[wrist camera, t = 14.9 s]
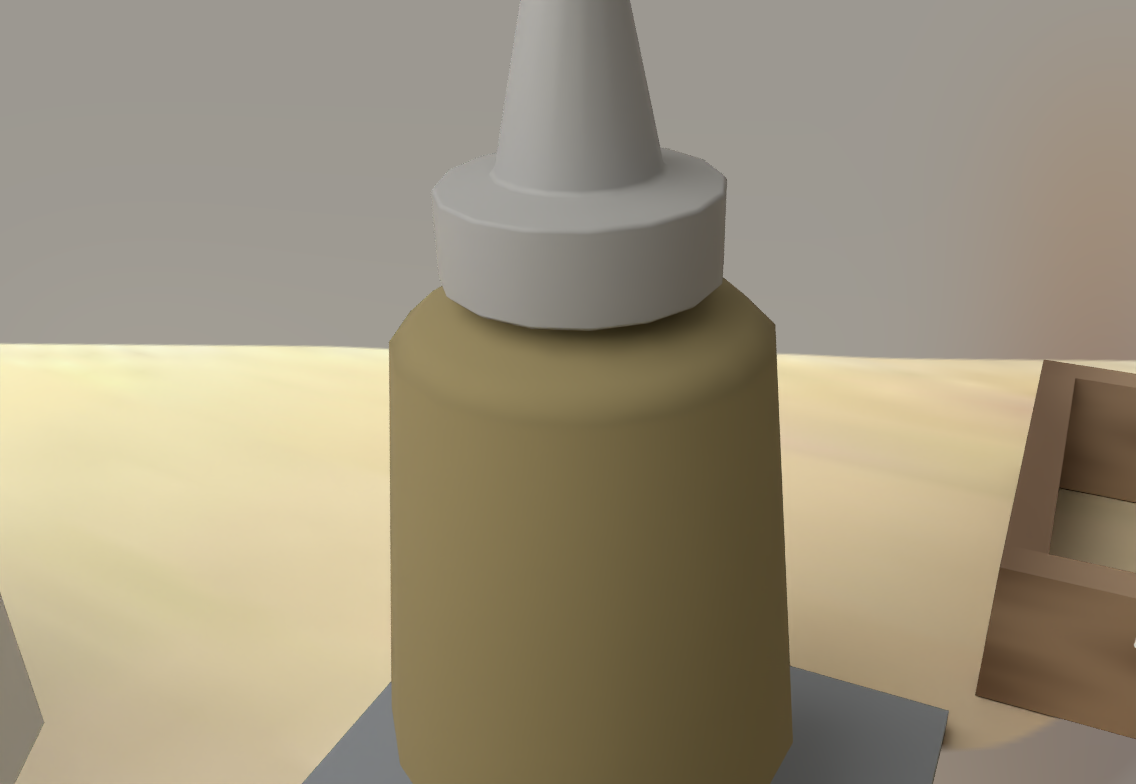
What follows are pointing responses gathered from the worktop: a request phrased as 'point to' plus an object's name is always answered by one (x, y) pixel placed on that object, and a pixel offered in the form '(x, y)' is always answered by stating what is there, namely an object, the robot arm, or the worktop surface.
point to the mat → (806, 775)
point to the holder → (1067, 562)
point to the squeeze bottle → (585, 452)
